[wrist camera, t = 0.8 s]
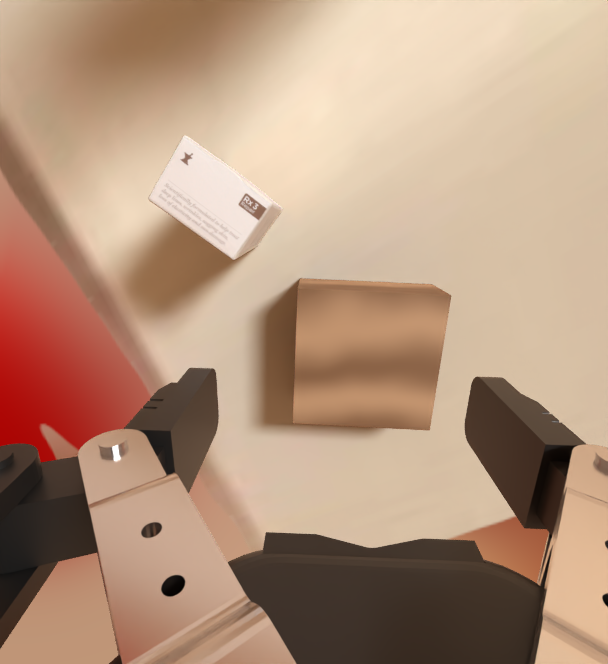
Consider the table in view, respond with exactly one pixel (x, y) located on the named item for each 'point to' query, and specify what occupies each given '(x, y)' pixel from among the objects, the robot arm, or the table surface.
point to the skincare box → (214, 200)
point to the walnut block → (368, 353)
